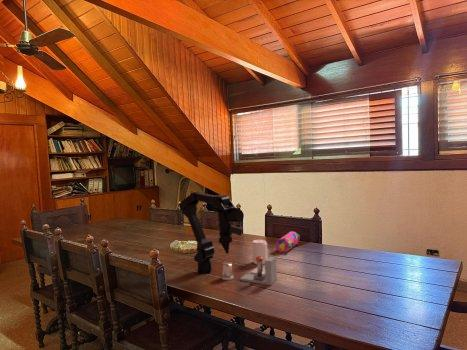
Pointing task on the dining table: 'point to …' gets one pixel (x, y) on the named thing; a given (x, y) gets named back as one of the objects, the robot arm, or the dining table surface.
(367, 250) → the dining table surface
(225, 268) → the knob
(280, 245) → the pencil case
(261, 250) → the beige cylinder
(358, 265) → the dining table surface
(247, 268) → the dining table surface
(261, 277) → the ball-topped lever
